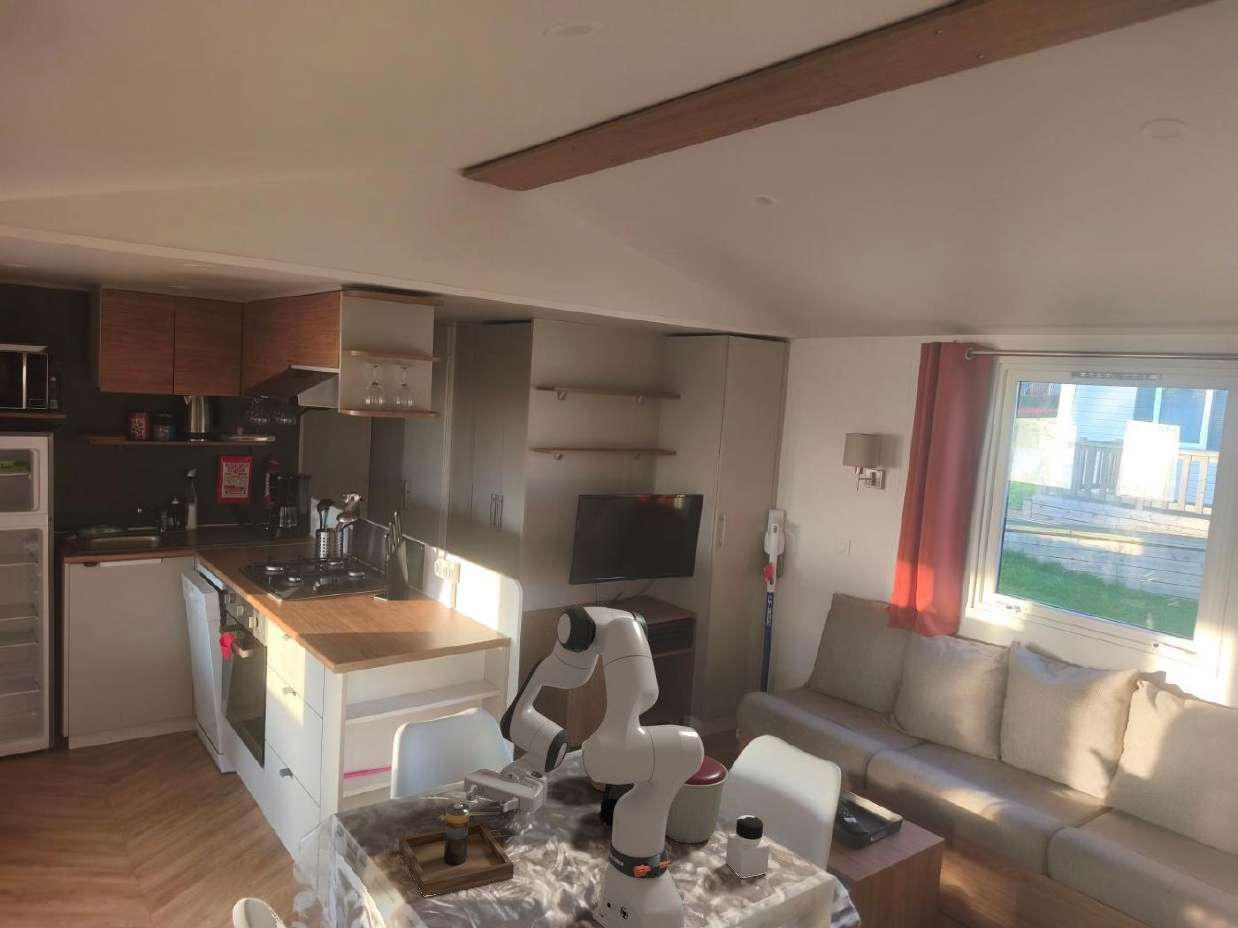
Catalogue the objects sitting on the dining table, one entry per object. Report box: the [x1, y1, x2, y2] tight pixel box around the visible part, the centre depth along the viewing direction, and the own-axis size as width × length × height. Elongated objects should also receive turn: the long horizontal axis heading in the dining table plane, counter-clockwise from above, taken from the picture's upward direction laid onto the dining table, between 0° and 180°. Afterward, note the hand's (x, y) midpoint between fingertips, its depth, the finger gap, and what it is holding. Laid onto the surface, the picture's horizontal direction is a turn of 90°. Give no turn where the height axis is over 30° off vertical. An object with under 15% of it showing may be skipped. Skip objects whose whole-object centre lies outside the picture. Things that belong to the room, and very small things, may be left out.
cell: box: [444, 802, 470, 866], centre depth 192 cm, size 5×5×13 cm
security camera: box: [599, 783, 635, 829], centre depth 216 cm, size 7×18×10 cm, turn 174°
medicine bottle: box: [725, 814, 770, 878], centre depth 198 cm, size 7×7×12 cm
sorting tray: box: [398, 821, 515, 896], centre depth 192 cm, size 20×20×3 cm
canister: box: [665, 754, 729, 844], centre depth 212 cm, size 18×18×21 cm
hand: (485, 802), depth 202 cm, fingers open, 8 cm apart
